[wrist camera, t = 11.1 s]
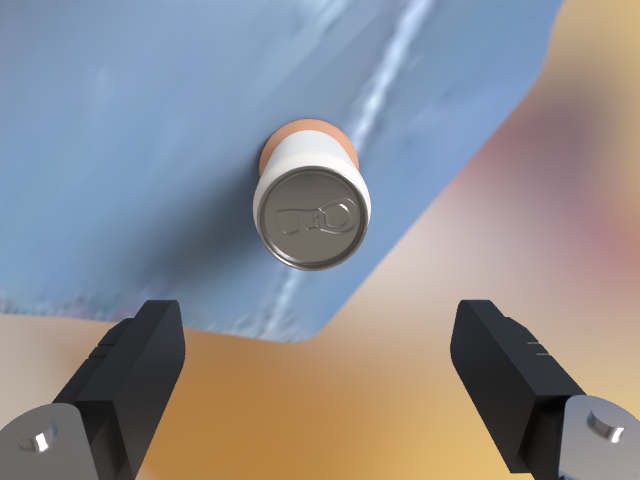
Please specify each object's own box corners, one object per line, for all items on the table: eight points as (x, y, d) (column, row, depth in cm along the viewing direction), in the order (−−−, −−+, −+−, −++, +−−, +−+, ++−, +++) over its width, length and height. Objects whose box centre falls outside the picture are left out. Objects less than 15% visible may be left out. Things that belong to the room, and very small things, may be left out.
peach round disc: (258, 117, 29) (257, 118, 28) (360, 119, 29) (362, 120, 28) (262, 215, 32) (261, 218, 31) (354, 216, 32) (355, 219, 31)
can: (353, 204, 31) (380, 270, 20) (276, 214, 31) (260, 285, 20) (345, 123, 28) (372, 148, 17) (261, 134, 28) (235, 166, 17)
